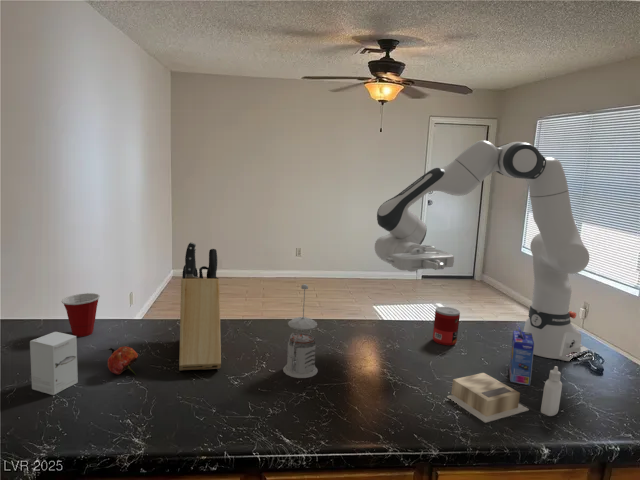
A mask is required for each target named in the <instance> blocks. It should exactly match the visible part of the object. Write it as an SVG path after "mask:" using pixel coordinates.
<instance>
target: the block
mask: <svg viewBox="0 0 640 480" xmlns="http://www.w3.org/2000/svg"><path fill="white" fill-rule="evenodd" d="M451 384H452V386H451V395H454V396H456V397H457V398H459V399H460V400H462V401H463V402H465V403H466V404H468V405H469V406H471V407H473V408H474V409H476V410H477V411H479V412H480V413H482V414H483V415H485V416H490V415H493V414H497V413H501V412H504V411H508V410H511V409H515V408H518V404H520V397H521V396H520V395H521V392H519V391H517V390H515V389H513V388H512V387H510V386H508V385H507V384H505V383H503V382H501V381H499V380H497V379H496V378H494V377H492V376H491V375H488V374H487V373H485V372H480V373H477V374H476V373H475V374H472V375H467V376H462V377H459V378H458V377H457V378H454V379H452V383H451Z"/></svg>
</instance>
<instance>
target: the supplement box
mask: <svg viewBox="0 0 640 480" xmlns="http://www.w3.org/2000/svg"><path fill="white" fill-rule="evenodd" d="M77 343H78V342H77V336H74V335H73V334H68V333H63V332H60V331H59V332H58V331H53V332H51V333H48V334H45V335H42V336H40V337H38V338H34V339H32V340H30V341H29V352H30V355H29V356H30V374H31V375H30V377H31V378H30V379H31V389H32V390H34V391H37V392H41V393H45V394H48V395H51V396H55V395H57V394H59V393H60V392H62V391H64V390H66V389H68V388H70V387H72V386H74V385H76V384H78V382H79V380H78V376H79V375H78V346H77Z"/></svg>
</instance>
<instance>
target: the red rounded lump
mask: <svg viewBox="0 0 640 480" xmlns="http://www.w3.org/2000/svg"><path fill="white" fill-rule="evenodd" d="M108 351H111V355H110V356H109V357H108V358H107V367H108V370H109V371H110V373H112V374H114V375H118V376H119V375H121V374H122V373H123V372H124V371H126V370H128V369H129V371H131V372H132V373H133V374H134V375H135V376H137V373H135V371H134V370H133V369H132V368H131V366H132V365H133V364H134V363H135V362H136V361H137V360H138V357H139V354H138V352H137V351H135V349H133V347H130V346H121V347H118V348H117V349H113V347H110V348H109V349H108Z"/></svg>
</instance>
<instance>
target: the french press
mask: <svg viewBox="0 0 640 480" xmlns="http://www.w3.org/2000/svg"><path fill="white" fill-rule="evenodd" d="M300 288H301V289H302V290H304V291H303V302H305V299H306V298H305V297H306V290H309V285H308V284H306V283H303V284H302V285H301V287H300ZM287 324H288V326H289V328H291V329H294V330H299V331H301V332H296V333H294V332H292V333H291V334H290V335H289V336H288V337H289V340H288V341H287V359H286V361H287V362H286V364H285V366H284V367H283V368H282V370H283V373H285V375H287V376H290V377H291V378H295V379H296V378H297V379H306V378H312V377H314V376H316V375H317V373H318V368H317V367H316V365H315V362H316V361H315V359H316V352H315V351H316V347H317V346H316V344H317V343H316V341H315V339H316V337H315V336H314V335H312V334H310V333H308V332H307V333H306V332H304V331H307V330H313V329H315V328H317V327H318V323H317V321H315V320H314V319H312V318H309V317H305V304H303V310H302V316H301V317H300V316H298V317H295V318H292V319H291V320H289V321H288V322H287ZM292 345H293V346H292ZM299 345H300V346H299Z"/></svg>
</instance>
